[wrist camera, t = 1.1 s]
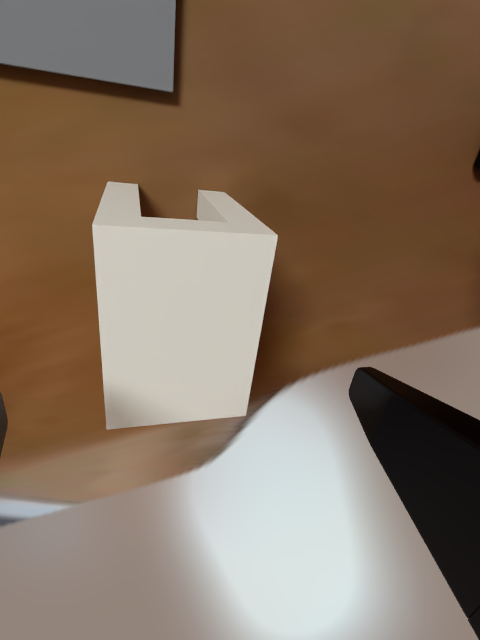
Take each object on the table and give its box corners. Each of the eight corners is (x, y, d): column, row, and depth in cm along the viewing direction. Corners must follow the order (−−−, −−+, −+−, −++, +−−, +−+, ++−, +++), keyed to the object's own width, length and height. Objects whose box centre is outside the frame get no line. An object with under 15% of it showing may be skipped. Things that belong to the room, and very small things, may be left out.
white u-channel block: (224, 192, 16) (277, 235, 10) (211, 325, 19) (245, 415, 13) (107, 181, 15) (92, 225, 9) (114, 327, 18) (106, 429, 12)
